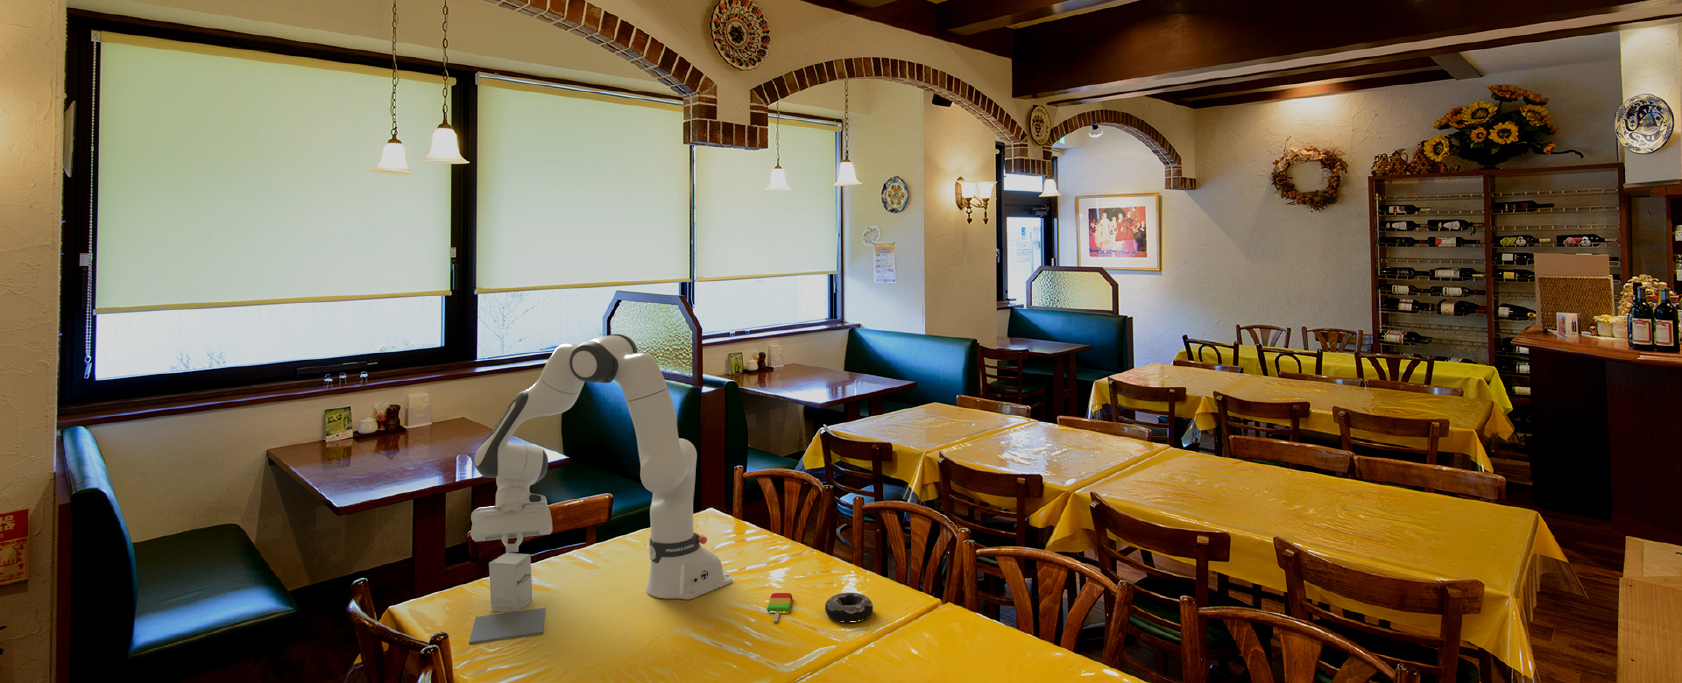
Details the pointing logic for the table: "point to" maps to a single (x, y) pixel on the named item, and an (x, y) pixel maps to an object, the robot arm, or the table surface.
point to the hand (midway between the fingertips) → (512, 551)
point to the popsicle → (779, 603)
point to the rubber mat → (507, 625)
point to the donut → (848, 607)
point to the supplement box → (510, 582)
